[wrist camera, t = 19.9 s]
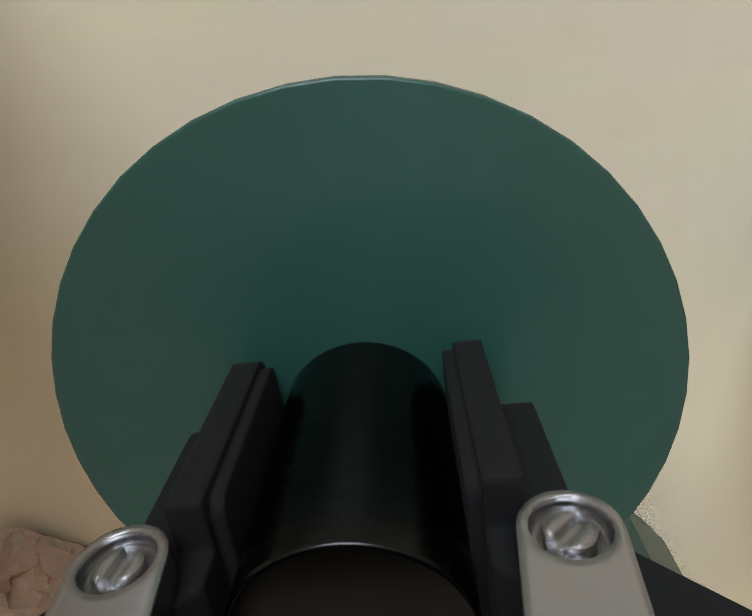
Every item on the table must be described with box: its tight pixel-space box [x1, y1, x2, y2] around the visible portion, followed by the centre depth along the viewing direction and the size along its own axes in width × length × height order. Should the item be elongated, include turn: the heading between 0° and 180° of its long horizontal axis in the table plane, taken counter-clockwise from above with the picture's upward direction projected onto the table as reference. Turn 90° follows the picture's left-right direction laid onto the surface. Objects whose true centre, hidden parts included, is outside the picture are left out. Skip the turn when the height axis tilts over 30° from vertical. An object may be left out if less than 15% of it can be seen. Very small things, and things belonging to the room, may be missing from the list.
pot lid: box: [51, 75, 689, 616], centre depth 10 cm, size 12×12×6 cm
